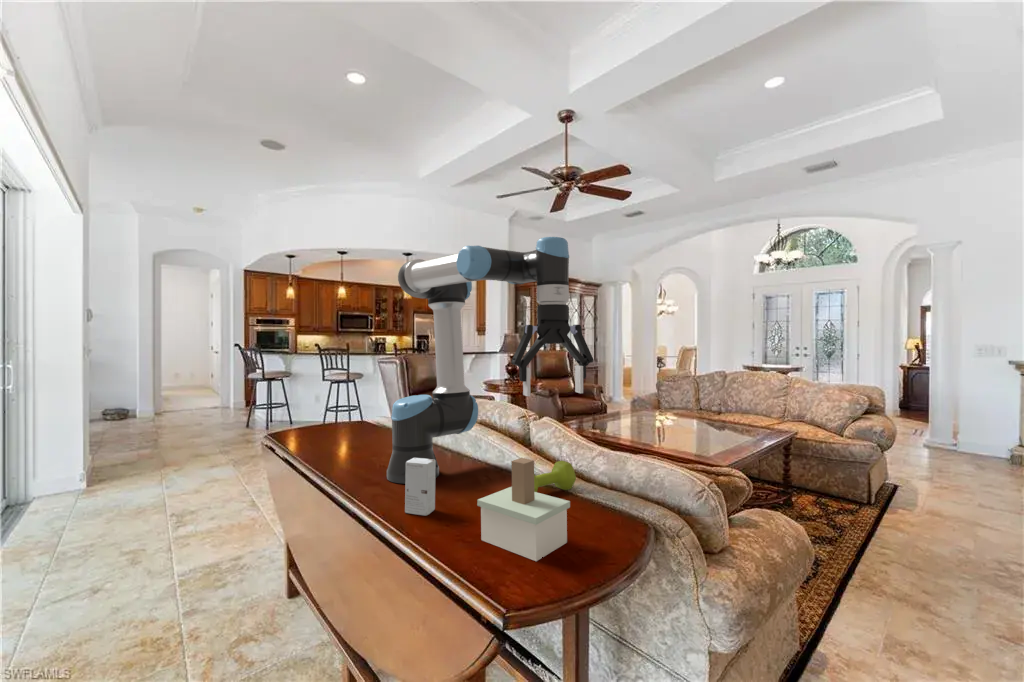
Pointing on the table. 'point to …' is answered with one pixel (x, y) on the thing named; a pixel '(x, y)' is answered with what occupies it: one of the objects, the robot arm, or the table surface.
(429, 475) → the skincare box
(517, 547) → the box
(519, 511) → the lid
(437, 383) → the robot arm
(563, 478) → the dumbbell
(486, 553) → the table surface
